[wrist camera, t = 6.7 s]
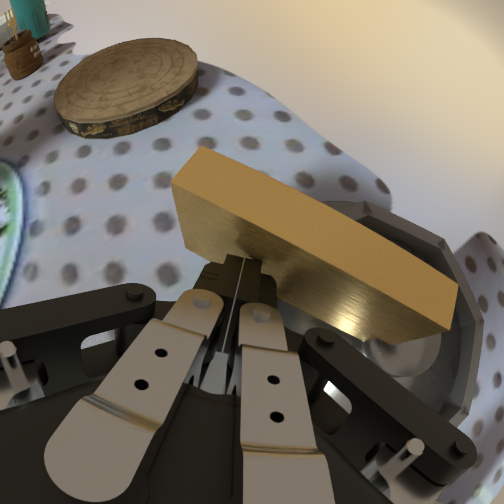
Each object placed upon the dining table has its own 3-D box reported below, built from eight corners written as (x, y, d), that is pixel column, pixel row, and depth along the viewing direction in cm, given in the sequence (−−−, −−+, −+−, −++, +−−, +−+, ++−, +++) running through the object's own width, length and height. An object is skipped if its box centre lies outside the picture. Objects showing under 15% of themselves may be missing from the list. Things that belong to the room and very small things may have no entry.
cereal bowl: (19, 25, 39) (13, 7, 32) (45, 23, 37) (39, 0, 30) (-30, 64, 32) (-38, 45, 26) (-14, 66, 30) (-24, 43, 24)
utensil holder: (13, 86, 27) (-11, 27, 16) (12, 73, 28) (-8, 20, 17) (45, 66, 29) (26, 5, 18) (42, 55, 30) (25, 0, 19)
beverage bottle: (55, 35, 33) (37, -47, 15) (25, 53, 31) (1, -28, 13) (50, 30, 35) (33, -45, 16) (22, 46, 32) (1, -28, 14)
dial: (459, 297, 20) (543, 255, 11) (403, 465, 14) (497, 493, 6) (250, 180, 22) (268, 76, 13) (141, 351, 16) (69, 328, 8)
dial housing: (148, 267, 19) (133, 243, 16) (390, 179, 25) (410, 152, 21) (285, 539, 13) (298, 567, 9) (492, 382, 18) (523, 377, 14)
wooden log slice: (227, 96, 27) (228, 73, 24) (82, 169, 22) (71, 147, 20) (160, 45, 31) (159, 27, 28) (52, 96, 26) (44, 79, 23)
